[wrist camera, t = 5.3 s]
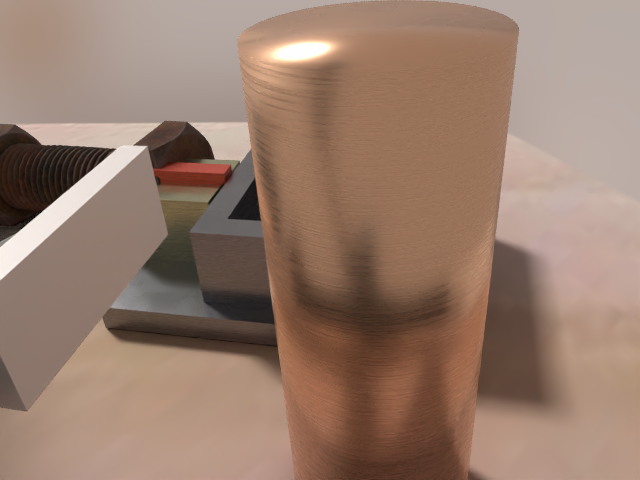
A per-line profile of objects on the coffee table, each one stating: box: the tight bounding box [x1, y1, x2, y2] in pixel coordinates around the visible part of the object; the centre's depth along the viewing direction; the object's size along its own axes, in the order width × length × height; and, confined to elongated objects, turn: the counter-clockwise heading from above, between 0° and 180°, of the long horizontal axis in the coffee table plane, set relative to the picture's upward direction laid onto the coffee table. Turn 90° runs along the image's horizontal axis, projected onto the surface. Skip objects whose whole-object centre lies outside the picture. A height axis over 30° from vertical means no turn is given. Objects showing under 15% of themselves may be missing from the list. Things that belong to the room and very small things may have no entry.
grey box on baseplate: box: [103, 149, 278, 346], centre depth 24 cm, size 13×10×4 cm
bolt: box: [0, 121, 215, 226], centre depth 29 cm, size 6×5×15 cm
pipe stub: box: [238, 0, 519, 480], centre depth 13 cm, size 4×4×12 cm
